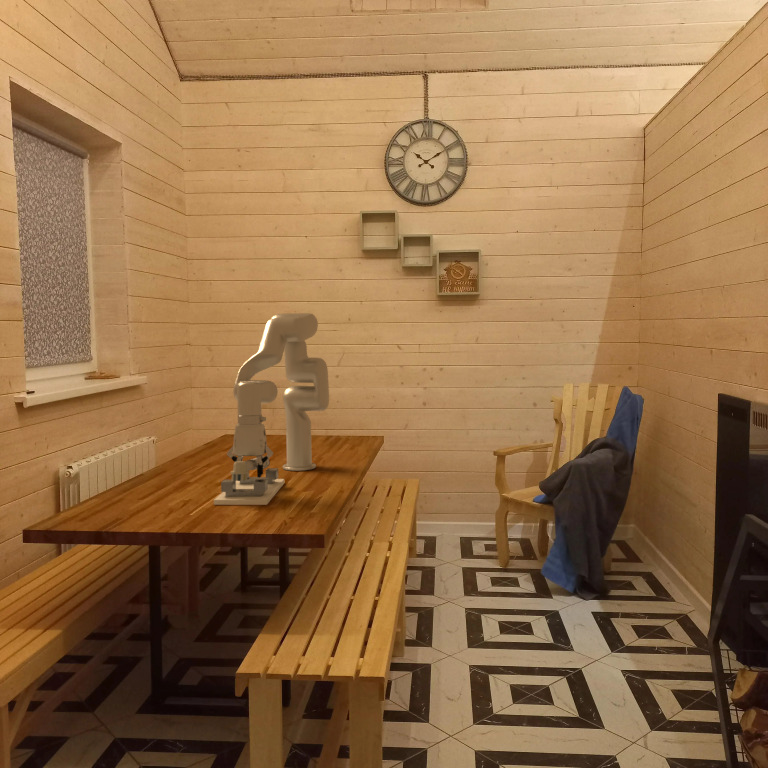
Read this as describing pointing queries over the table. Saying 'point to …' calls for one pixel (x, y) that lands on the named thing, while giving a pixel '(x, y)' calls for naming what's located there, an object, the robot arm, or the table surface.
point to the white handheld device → (246, 468)
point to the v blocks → (259, 483)
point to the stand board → (250, 500)
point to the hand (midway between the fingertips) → (250, 476)
